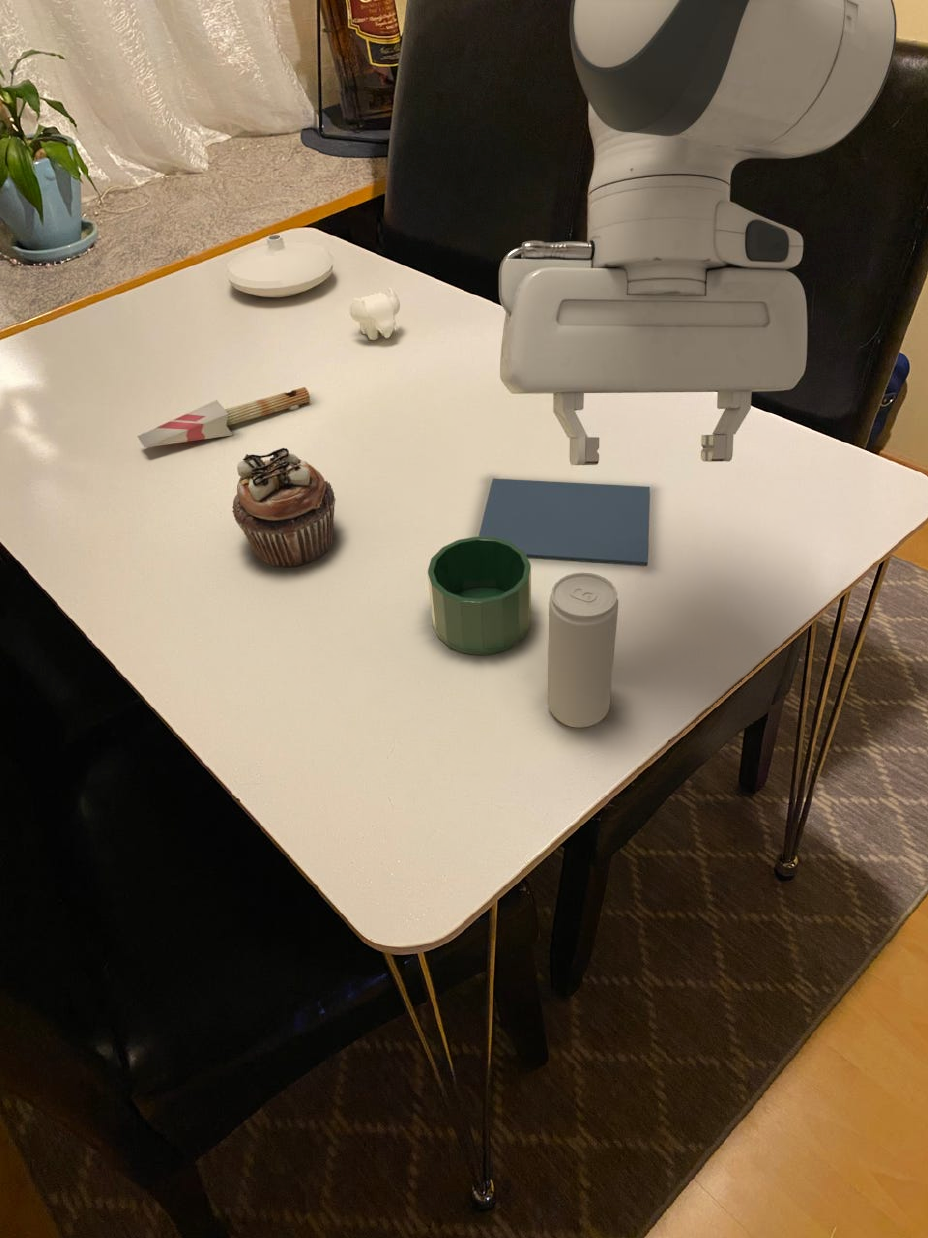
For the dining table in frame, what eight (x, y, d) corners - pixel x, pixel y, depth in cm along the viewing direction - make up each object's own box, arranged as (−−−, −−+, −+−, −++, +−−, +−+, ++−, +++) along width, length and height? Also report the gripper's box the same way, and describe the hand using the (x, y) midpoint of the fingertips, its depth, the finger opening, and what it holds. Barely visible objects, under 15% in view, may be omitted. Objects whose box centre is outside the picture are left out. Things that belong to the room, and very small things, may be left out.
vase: (288, 317, 125) (278, 266, 120) (207, 295, 131) (195, 247, 127) (358, 275, 134) (351, 227, 129) (279, 257, 141) (270, 210, 136)
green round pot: (535, 592, 80) (535, 539, 76) (524, 659, 74) (523, 606, 70) (443, 585, 82) (438, 533, 78) (425, 650, 76) (419, 598, 72)
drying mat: (649, 489, 91) (649, 486, 91) (646, 565, 82) (647, 562, 82) (493, 481, 93) (492, 478, 93) (475, 554, 85) (475, 550, 85)
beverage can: (592, 740, 68) (600, 626, 60) (536, 716, 70) (536, 602, 62) (619, 699, 71) (631, 584, 63) (564, 677, 73) (569, 563, 65)
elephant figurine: (368, 354, 116) (362, 309, 111) (342, 331, 121) (335, 287, 117) (414, 339, 118) (410, 295, 114) (387, 317, 123) (382, 274, 119)
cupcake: (360, 546, 87) (346, 458, 80) (270, 587, 83) (247, 498, 76) (313, 500, 92) (296, 415, 86) (227, 537, 89) (202, 451, 82)
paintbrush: (132, 422, 100) (299, 377, 107) (138, 443, 101) (302, 398, 109) (142, 437, 97) (312, 390, 105) (148, 459, 99) (315, 411, 106)
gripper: (511, 228, 52) (512, 468, 55) (827, 236, 56) (813, 460, 59) (486, 249, 58) (489, 465, 61) (773, 256, 62) (763, 458, 65)
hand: (651, 463), depth 60 cm, fingers open, 8 cm apart
